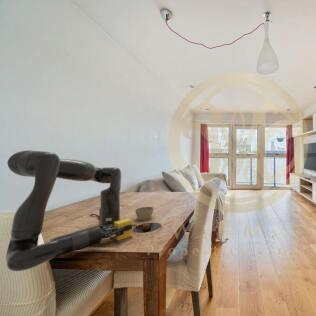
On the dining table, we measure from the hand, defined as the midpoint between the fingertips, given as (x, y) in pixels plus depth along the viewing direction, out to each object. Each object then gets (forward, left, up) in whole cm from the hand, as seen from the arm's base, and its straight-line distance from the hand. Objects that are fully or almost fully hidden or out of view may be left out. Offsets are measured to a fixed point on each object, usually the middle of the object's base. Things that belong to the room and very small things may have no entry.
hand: (129, 225), depth 88 cm
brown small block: (+2, +9, -5) cm, 11 cm away
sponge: (-1, -3, -6) cm, 7 cm away
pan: (-2, +10, -6) cm, 12 cm away
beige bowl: (-11, +21, -6) cm, 25 cm away
